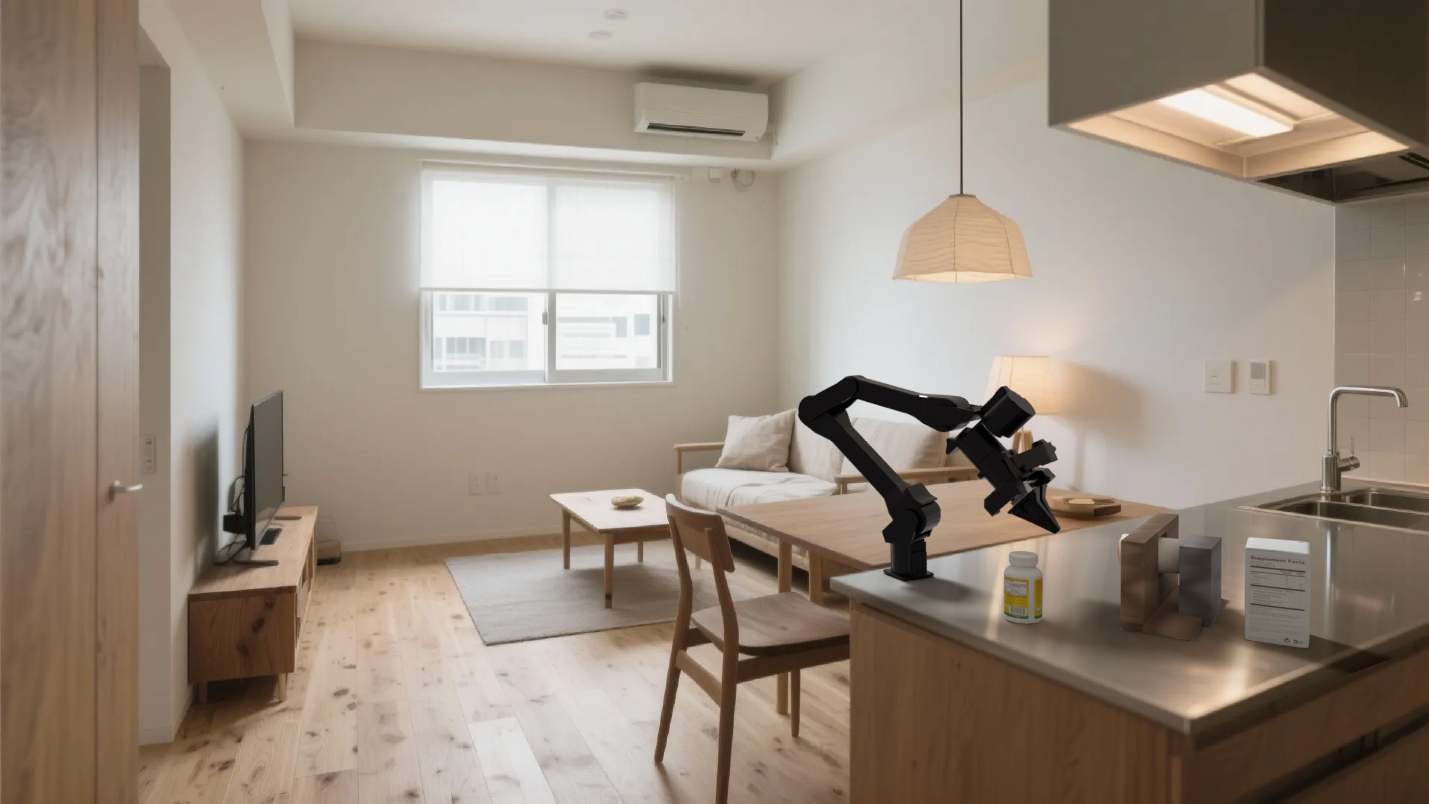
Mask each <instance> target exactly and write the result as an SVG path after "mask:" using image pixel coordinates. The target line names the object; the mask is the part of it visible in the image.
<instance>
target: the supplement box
mask: <svg viewBox="0 0 1429 804" xmlns="http://www.w3.org/2000/svg"><path fill="white" fill-rule="evenodd" d="M1310 549H1311V543H1310V542H1307V541H1301V540H1290V539H1289V540H1288V539H1279V538H1278V539H1277V538H1276V539H1275V538H1262V537H1250V536H1249V537H1248V538H1247V541H1246V544H1245V547H1244V550H1245V551H1244V639H1245V640H1246V641H1252V642H1257V643H1259V642H1260V643H1263V644H1264V643H1266V644H1274V645H1278V646H1279V645H1280V646H1287V647H1293V648H1300V649H1301V648H1302V649H1308V648H1309V644H1310V635H1311V632H1310V631H1311V550H1310Z"/></svg>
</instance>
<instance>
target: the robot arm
mask: <svg viewBox="0 0 1429 804" xmlns="http://www.w3.org/2000/svg"><path fill="white" fill-rule="evenodd" d="M856 401H862V402H865V403H869V404H871V405H875V406H878V407H882V408H886V409H889V410H892V411H895V412H899V413H902V414H906V415H909V416H911V417H913V418H914V419H916V420H917V421H919V422H920V423H921V424H923V425H924V426H927V427H929V428H931V429H933V430H935V431H937V432H940V433H950V432H953V431H954V432H955V431H959V430H961V429H962V430H961V431H960V432H959V433H958V434H957V435H955V437H951V436H950V437H948V438H946V439H945V442H946V446H945V455H948V456H949V455H952V454H956V453H958V452H961V453H962V454H963V456H964V457H965V458H966V459H967V460H968V461H969V462H970V463H971V465H973V467H974V468H975V469H976V470H977V471H978V473H977V474H976V476H977V478H979V480H984V479H985V480H986V481H987V482H988V483H989V485H991V487H992V488H993V489H994V490H992V492H990V493H989V494H988V496H986V497H985V498H984V499H983V509H985V511H986V512H987V513H988V514H989V515H990V517H992V518H993V517H995V516H997V515H999V514H1000V513H1001V509H1003V508H1004V507H1005V506H1006V505H1008V503H1009V504H1010V505H1011V506H1012V507H1011V508H1010V509H1009V510H1008V511H1006V512H1007V514H1008V515H1012V516H1015V517H1017V518H1019V519H1021V520H1024V521H1026V522H1028V523H1031V524H1033V525H1035V526H1037V527H1039V528H1042V529H1044V530H1046V531H1048V532H1049V533H1050V532H1051V534H1058V533H1059V532H1060V531H1061V530H1062V529H1061V526H1060V524H1059V522H1058V520H1057V519H1056V517H1055V515H1054V513H1053V511H1052V508H1051V507H1050V505H1049V503H1048V500H1047V498H1046V495H1047V494H1046V493H1047V488H1048V485H1049V484H1050V483H1051V482H1052V481H1054V479H1055V478H1056V477H1057V475H1055V474H1054V472H1052V470H1051V469H1049V468H1048V467H1043V466H1046V465H1049V464H1052V463H1054V462H1057V461H1059V459H1058V457H1057V454H1056V451H1057V447H1056V446H1055V445H1053V444H1052V441H1049V442H1048V441H1046V440H1045V439H1044V438H1041V439H1038V440H1037V441H1033V442H1031V448H1029V449H1027V450H1024V451H1022V452H1017V450H1016V449H1012V448H1009V449H1007V448H1006V447H1005V446H1004V445H1003V443H1002V442H1001V441H1000V440H999V439H1001V438H1003V437H1004V438H1007V439H1011V438H1012V437H1013V436H1014V435H1015V434H1016V433H1018V431H1019V430H1020V429H1022V428H1023V426H1025V425H1026V424H1027V423H1028V422H1029V421H1030V420H1031V419H1032V418H1033V417H1034V416H1035V415H1036V409H1035V408H1034V407H1033V405H1032V404H1031V403H1030V402H1029V400H1027V398H1025V397H1022V395H1020V394H1019V393H1018V392H1016V391H1014V390H1011V389H1010V387H1009V386H1008V385H1002V386H999V388H998V389H996V391H995V392H994V394H993V396H991V397H990V399H988V400H987V401H986V402H985V403H984V404H983V405H977V404H972V403H970V402H969V400H968V399H966V398H965V397H963V396H960V395H951V394H935V393H922V392H917V391H914V390H911V389H907V388H903V387H899V386H896V385H893V384H889V383H885V382H881V381H878V380H875V379H871V378H868V377H865V376H864V375H862V374H855V375H846V376H844V377H843V378H842V379H841V380H839V381H837V382H836V383H835V384H833V385H830V386H828V387H827V388H824V389H823V390H820V391H819V392H818V393H816V394H811V395H809V394H808V395H807V396H804V397H803V398H802V399H801V400H800V402H799V404H798V407H797V412H798V413H797V417H798V419H799V421H800V422H801V423H802V424H803V425H804V426H805V427H807V428H808V429H809V430H810V431H812V432H813V433H815V434H816V435H819V436H821V437H822V438H824V439H827V440H828V441H830V442H831V443H833V445H834V446H835V447H836V449H838V450H839V451H840V453H841V454H842V455H843V456H844V457H845V458H846V459H847V460H848V462H850V463H851V464H852V466H853V467H855V468H856V470H857V471H858V472H859V473H860V474H861V475H862V477H863V478H864V479H865V480H866V481H867V482H868V483H869V484H870V486H872V487H873V488H874V489H875V491H876V492H877V493H878V494H879V495H880V497H882V499H883V500H884V504H885V506H886V507H885V508H886V509H887V512H888V515H889V516H890V518H891V521H890V523H888V524H887V525H886V526H885V527H884V528H883V529H882V531H881V533H882V537H883V540H884V543H886V544H890V545H889V546H890V555H889V557H890V568H885V569H883V570H882V572H883V574H886V575H889V576H892V577H895V578H897V579H899V580H902V581H908V580H909V581H910V580H913V579H914V580H915V579H921V578H928V577H934V576H935V573H934V572H933V571H930V570H928V552H927V541H925V540H926V538H929V537H931V534H932V533H933V532H932V531H933V529H934V528H935V527H937V526H938V525H939V523H940V521H941V518H942V513H941V512H942V509H941V506H940V505H939V504H938V502H937V501H938V499H939V498H938V497H936V496H934V495H933V494H931V492H930V491H929V490H928V488H927V487H926V486H925V484H924V483H922V482H918V483H915V484H910V483H908V482H906V481H904V479H903V478H901V477H900V475H899V474H898V473H897V472H896V471H895V470H894V469H893V468H892V467H891V466H890V465H889V464H888V462H886V460H885V459H884V458H883V457H882V456H881V455H880V454H879V453H878V452H877V450H875V449H874V448H873V447H872V446H871V445H870V444H869V442H868V441H867V440H866V439H865V438H864V437H863V436H862V434H860V432H859V431H857V429H856V428H855V427H854V426H853V425H852V422H851V419H850V416H849V413H848V411H847V409H849V408H850V407H851V406H852V405H854V403H856ZM974 421H977V423H976V424H975V425H973V426H972V427H969V426H968V425H969V424H970V423H971V422H974ZM998 438H999V439H998ZM1040 466H1041V467H1040ZM1037 467H1038V468H1037Z"/></svg>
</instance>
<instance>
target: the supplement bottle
mask: <svg viewBox="0 0 1429 804" xmlns="http://www.w3.org/2000/svg"><path fill="white" fill-rule="evenodd" d="M1008 563H1009V564H1010V565H1009V566H1007V567H1006V568H1005V569H1004V571H1003V617H1004V618H1005V620H1007V621H1009V622H1012V623H1014V624H1015V623H1016V624H1020V623H1025V624H1024V625H1029V624H1028V623H1033V624H1037V623H1039V621H1040V622H1041V621H1042V620H1043V594H1044V593H1043V590H1044V589H1043V586H1044V585H1043V582H1044V581H1043V580H1044V577H1043V572H1042V570H1041V568H1039V567H1037V565H1038V564H1039V555H1038V553H1035V552H1032V551H1027V550H1017V551H1016V550H1015V551H1010V552H1009V553H1008Z"/></svg>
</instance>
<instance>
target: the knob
mask: <svg viewBox="0 0 1429 804" xmlns="http://www.w3.org/2000/svg"><path fill="white" fill-rule="evenodd" d="M1129 534H1130V533H1122V534H1121V536H1120V538H1119V542H1118V547H1117V557H1118V561H1119V565H1120V566H1121V540H1122V539H1124V538H1125V537H1126V536H1128V535H1129ZM1184 541H1185V540H1184V539H1181V538H1179V539H1173V538H1163V537H1159V538H1158V571H1160V572H1168V573H1176V574H1178V575H1179V546H1180V545H1181V544H1182V543H1183V542H1184Z"/></svg>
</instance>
